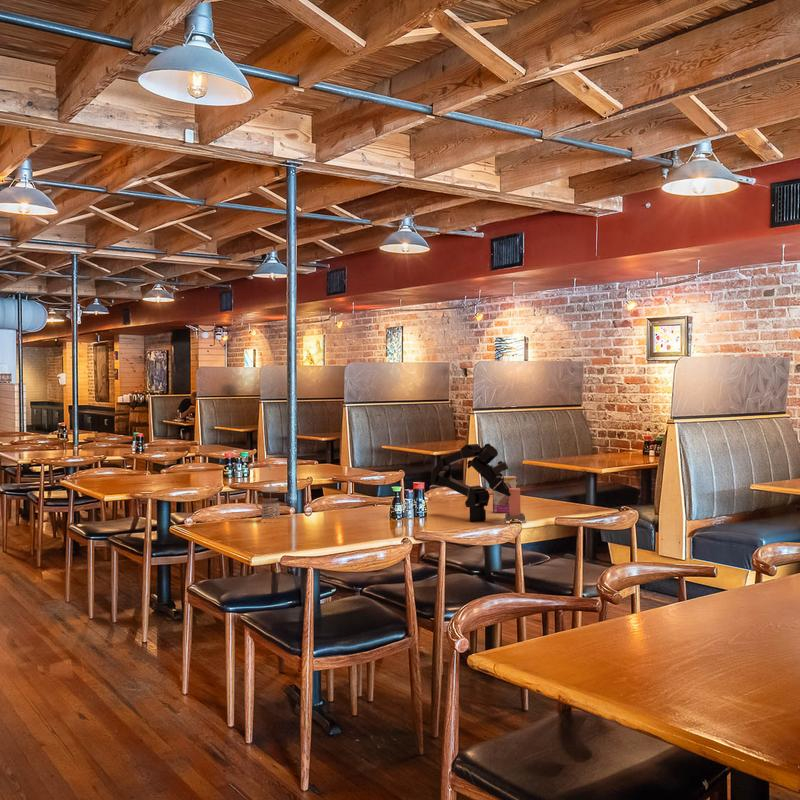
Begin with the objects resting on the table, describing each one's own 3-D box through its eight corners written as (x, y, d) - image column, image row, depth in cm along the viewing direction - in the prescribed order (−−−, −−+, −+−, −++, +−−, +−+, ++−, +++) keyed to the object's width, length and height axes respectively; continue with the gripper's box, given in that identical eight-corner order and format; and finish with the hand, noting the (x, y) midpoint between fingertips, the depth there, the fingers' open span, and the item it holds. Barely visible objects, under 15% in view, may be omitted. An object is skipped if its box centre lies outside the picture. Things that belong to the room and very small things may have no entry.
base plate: (506, 523, 350) (505, 516, 350) (504, 520, 358) (504, 513, 358) (526, 523, 349) (526, 516, 349) (524, 520, 358) (524, 513, 358)
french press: (280, 522, 364) (279, 465, 364) (253, 523, 364) (252, 466, 364) (283, 519, 374) (282, 463, 373) (257, 519, 374) (256, 464, 373)
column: (509, 520, 352) (509, 489, 352) (509, 518, 356) (508, 488, 356) (520, 520, 351) (520, 489, 351) (520, 518, 356) (519, 488, 356)
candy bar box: (492, 513, 380) (492, 477, 379) (492, 511, 384) (492, 476, 384) (517, 513, 378) (517, 477, 378) (517, 511, 383) (516, 475, 383)
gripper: (496, 456, 346) (523, 483, 345) (497, 453, 365) (523, 478, 363) (477, 475, 347) (504, 502, 346) (479, 471, 366) (505, 496, 364)
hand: (510, 494), depth 355 cm, fingers open, 9 cm apart
